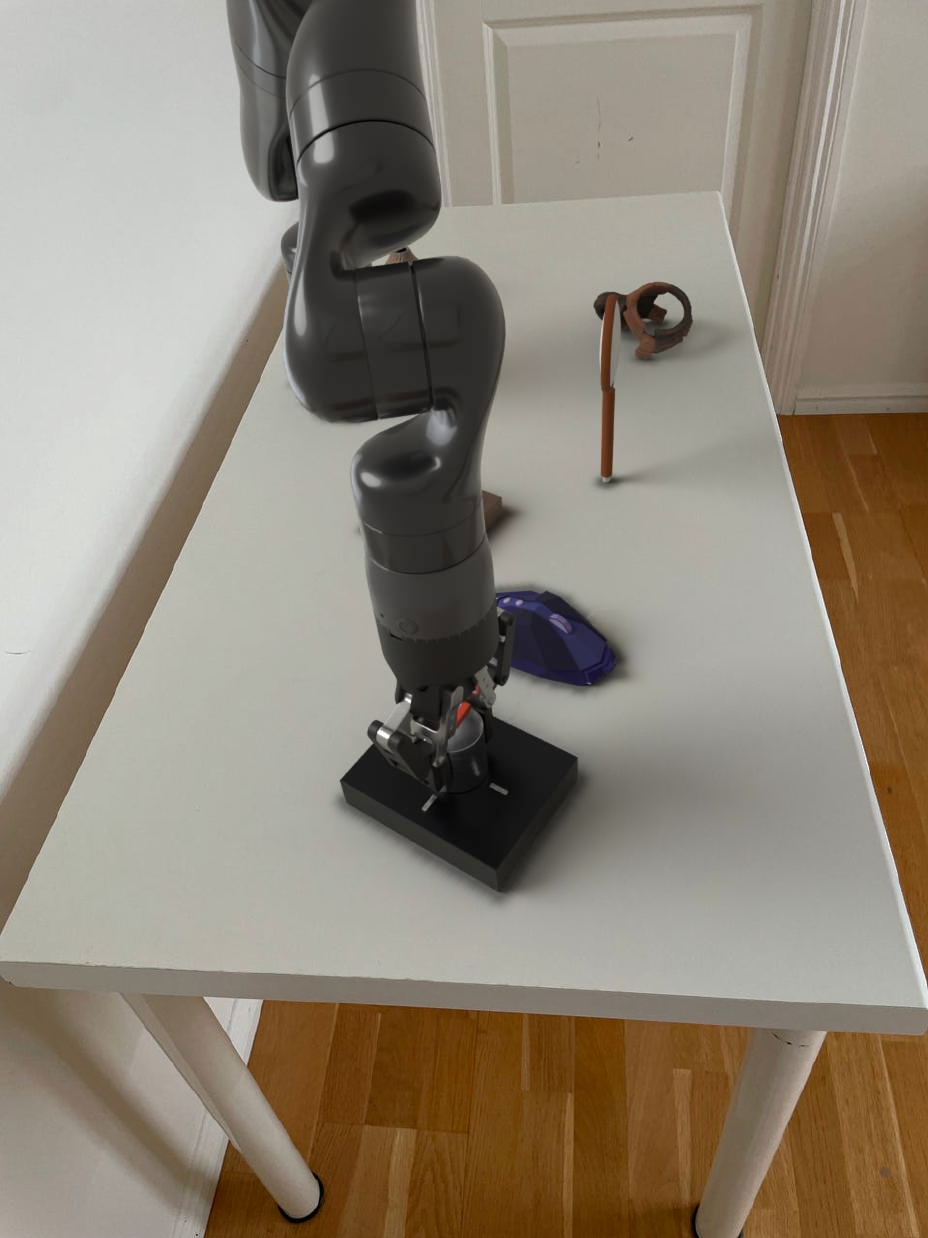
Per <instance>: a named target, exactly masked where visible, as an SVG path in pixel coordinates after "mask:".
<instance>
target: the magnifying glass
mask: <svg viewBox="0 0 928 1238" xmlns="http://www.w3.org/2000/svg"><path fill="white" fill-rule="evenodd" d="M600 329H601V330H600V339H599V374H600V388H601V392H602V395H601V396H602V401H601V403H602V404H601V437H600V438H601V439H600V445H601V447H600V476H601V477H602V482H603V483H609V482H611V477H612V476H613V467H614V439H615V438H614V437H615V436H614V435H615V410H616V409H615V408H616V407H615V405H616V388H615V387H614V385H615V378H616V376H617V371H618V365H619V359H620V351H621V350H620V349H621V337H622V336H621V335H622V334H621V332H622V329H621V325H620V311H619V297H618V295H615V294H611V295H609V296H608V298H607V301H606V307H605V313H604V317H603V321H602V322H601V328H600Z"/></svg>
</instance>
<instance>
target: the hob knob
mask: <svg viewBox="0 0 928 1238" xmlns="http://www.w3.org/2000/svg"><path fill="white" fill-rule="evenodd" d="M424 740H425V741H427V742H429V743H431V744H432V741H431V739H429V738H428V737H426V736H424ZM447 757H449V763H450V769H451V775H452V781H453V786H452V787H451V788H450V789H449V791H448V792H451V793H462V792H466V791H469V790H472V789H474V788H475V787H477V786H478V785H479V784H480V783H481V782H482V781H483V780H484V778H485V776H486V774H487V771H488V762H487V754H486V745H485V736H484V727H483V721H482V718H481V716H480V714H479V713H478V712H477V711H476V710H475V709H474V708H472V707H471V704H469V703H466V702H463V704H462V703H461V704H460V705H459V707H458V714H457V723H456V732H455V735H454V736H453V737H451V738H450V739H449V740H448V747H447Z"/></svg>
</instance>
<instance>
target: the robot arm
mask: <svg viewBox="0 0 928 1238" xmlns="http://www.w3.org/2000/svg"><path fill="white" fill-rule="evenodd" d="M225 9H226V19H227V24H228V33H229V39H230V45H231V51H232V57H233V60H234V64H235V65H234V66H235V71H236V75H237V76H236V77H237V81H238V87H239V133H240V143H241V151H242V156H243V161H244V164H245V167H246V170H247V173H248V176H249V178H250V180H251V182H252V184H253V186H254V187H255V189H256V191H257V192H258V193H259V194H260V195H261V196H262V197H263V198H264V199H266V200H268V201H271V202H275V203H289V202H294V201H298V208H299V211H298V213H299V215H298V216H299V217H298V221H297V222H295V223H294V224H292V225H291V226H290V227H289V228H287V229H286V231H284V233H283V235H282V236H281V239H280V253H281V257H282V262H283V265H284V270H285V273H286V278H287V282H288V286H289V287H288V293H287V297H286V303H285V308H284V317H283V324H282V325H283V327H282V337H281V338H282V339H281V340H282V341H281V343H282V345H281V346H282V347H281V349H282V358H283V366H284V371H285V375H286V379H287V380H288V383H289V386H290V388H291V391H292V392H293V394H294V396H295V398H296V399H297V401H298V402H299V403H300V404H301V405H302V407H303V408H304V409H305V410H306V411H307V412H308V413H309V414H310V415H311V416H313V417H314V418H315V419H317V420H319V421H321V422H323V423H325V424H328V425H333V426H349V425H356V424H364V423H369V422H376V421H378V420H380V421H383V420H389V419H394V418H402V417H408V416H413V417H411V418H409V419H407V420H405V421H402V422H400V423H398V424H395V425H393V426H391V427H389V428H386V429H384V430H382V431H380V432H378V433H376V434H375V435H373V436H372V437H370V438H368V439H367V440H366V441H365V442H364V443H363V444H362V445H361V446H360V447H359V448H358V449H357V451H356V452H355V454H354V455H353V457H352V460H351V463H350V470H349V476H350V477H349V479H350V487H351V493H352V498H353V502H354V507H355V511H356V516H357V521H358V525H359V529H360V535H361V539H362V543H363V551H364V553H363V554H364V573H365V578H366V583H367V589H368V594H369V597H370V602H371V606H372V611H373V616H374V619H375V620H374V621H375V625H376V630H377V635H378V639H379V643H380V647H381V648H380V649H381V653H382V656H383V658H384V660H385V662H386V664H387V665H388V667H389V669H390V671H391V672H392V674H393V675H394V677H395V680H396V683H395V685H396V686H395V691H394V702H395V704H396V706H395V707H394V709H392V712H391V713H390V715H389V716H388V718H387V720H386V721H384V722H383V721H380V720H379V719H374V720H373V721H372V722H371V723H370V724H369V726H368V727H367V731H366V735H367V737H368V739H370V741H371V742H372V744H373V743H374V744H375V746H376V747H377V748H378V749H379V751H380V752H381V753H382V754H383V755H384V757H385V758H386V759H387V760H388V762H389V763H390V764H391V765H392V766H394V767H395V768H397V769H401V770H402V771H404V772H406V773H408V774H410V775H411V776H413V777H414V778H415V779H417V780H419V781H420V782H421V783H422V784H424V785H425V786H427V787H429V788H431V789H433V790H434V791H436V792H438V793H439V791H442V792H444V793H447V792H448V791H449V789H450V788H451V787H452V786H453V781H452V775H451V769H450V763H449V757H447V747H448V740H449V739H450V738H451V737H453V736H454V735H455V732H456V723H457V714H458V707H459V705H460V704H461V703H462V704H463V702H466V703H469V704H471V707H472V708H474V709H475V710H476V711H477V712H478V713H479V714H480V716H481V718H482V721H483V727H484V736H485V744H487V743H488V742H489V741H490V739H491V738H492V737H493V730H492V726H493V716H494V715H493V706H494V704H495V702H496V699H497V694H496V692H495V690H496V688H497V687H498V686H500V687H504V686H505V685H506V684H507V682H508V681H509V678H510V674H511V667H510V666H511V658H512V650H513V642H514V634H515V626H516V615H515V614H513V613H510V612H508V611H506V610H503V609H501V608H499V607H497V604H496V593H497V592H496V581H495V569H494V560H493V552H492V548H491V544H490V542H489V541H490V540H489V538H488V533H487V531H486V528H485V519H484V509H483V498H482V490H483V487H482V486H483V485H482V484H483V483H482V459H483V458H482V457H483V452H484V451H483V450H484V444H485V439H486V438H485V437H486V432H487V428H488V424H489V420H490V415H491V411H492V409H493V404H494V401H495V398H496V393H497V389H498V385H499V382H500V377H501V372H502V366H503V362H504V355H505V351H506V338H507V337H506V335H507V334H506V318H505V317H506V316H505V311H504V307H503V302H502V300H501V297H500V295H499V291H498V289H497V287H496V285H495V284H494V282H493V281H492V279H491V278H490V276H489V275H488V274H487V273H486V271H485V270H483V268H481V266H479V265H478V264H477V263H476V262H474V261H472V260H470V259H469V258H466V257H463V256H459V255H440V256H433V257H426V258H418V260H412V262H411V265H410V262H408V261H407V262H400V263H393V264H385V263H384V264H379V265H373V262H375V261H378V260H380V259H382V258H384V257H386V256H389V255H390V254H391V253H393V252H395V251H398V250H400V249H402V248H404V247H406V246H408V247H410V245H412V244H413V243H415V242H417V241H418V240H420V239H421V238H423V237H424V236H425V235H426V234H427V233H429V231H430V230H432V228H433V227H434V225H435V223H436V222H437V220H438V218H439V215H440V212H441V208H442V201H443V199H442V198H443V197H442V196H443V195H442V182H441V175H440V170H439V164H438V159H437V152H436V147H435V145H436V144H435V140H434V134H433V129H432V124H431V118H430V112H429V106H428V105H429V104H428V100H427V94H426V90H425V84H424V78H423V71H422V61H421V54H420V46H419V45H420V44H419V35H418V33H419V32H418V17H417V0H225ZM493 656H494V657H495V658H496V659H497V660H496V659H495V658H494V657H493ZM493 658H494V659H495V660H496V664H494V663H492V662H491V660H492V659H493ZM424 736H426V737H428V738H429V739H431V741H432V744H431V743H429V742H427V741H425V740H424Z"/></svg>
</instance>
